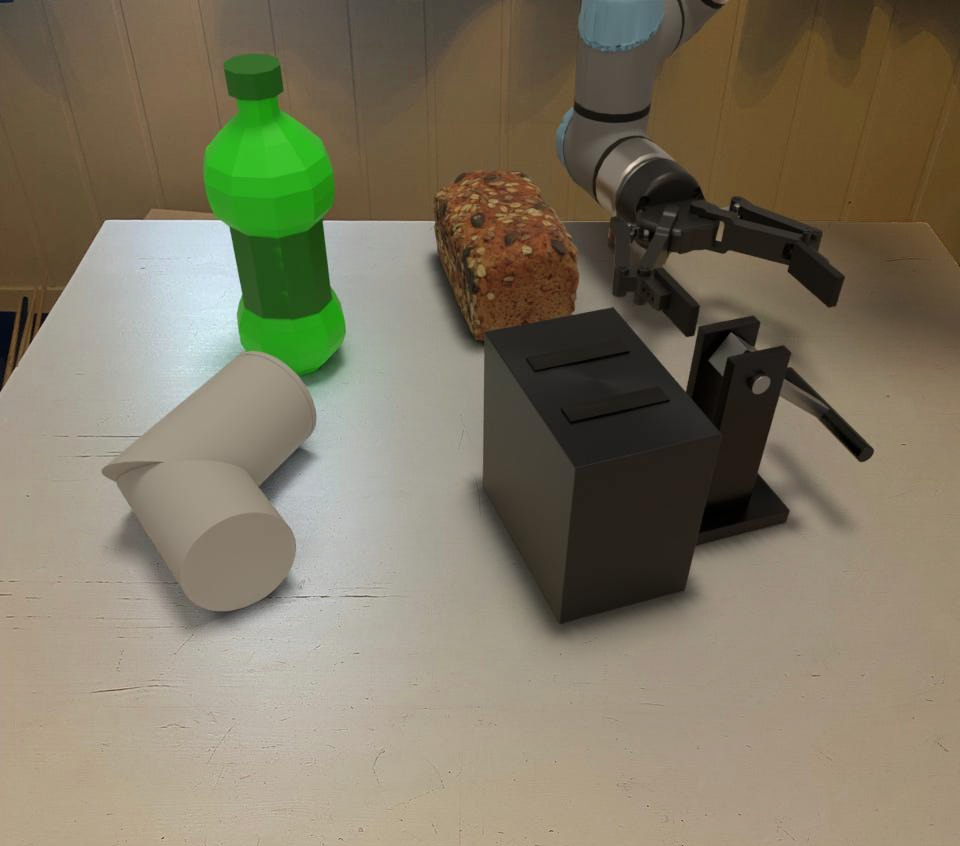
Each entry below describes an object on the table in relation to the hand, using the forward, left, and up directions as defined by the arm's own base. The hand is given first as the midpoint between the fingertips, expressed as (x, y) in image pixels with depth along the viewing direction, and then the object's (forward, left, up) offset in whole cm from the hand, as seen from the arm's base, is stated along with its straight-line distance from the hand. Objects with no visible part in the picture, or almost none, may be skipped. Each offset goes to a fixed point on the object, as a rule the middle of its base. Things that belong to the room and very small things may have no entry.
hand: (766, 306), depth 80 cm
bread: (+22, -18, -9) cm, 29 cm away
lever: (+2, +13, 0) cm, 13 cm away
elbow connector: (+43, +15, -9) cm, 46 cm away
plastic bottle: (+41, -6, -9) cm, 42 cm away
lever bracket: (+6, +14, -9) cm, 18 cm away
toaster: (+16, +18, -9) cm, 26 cm away
